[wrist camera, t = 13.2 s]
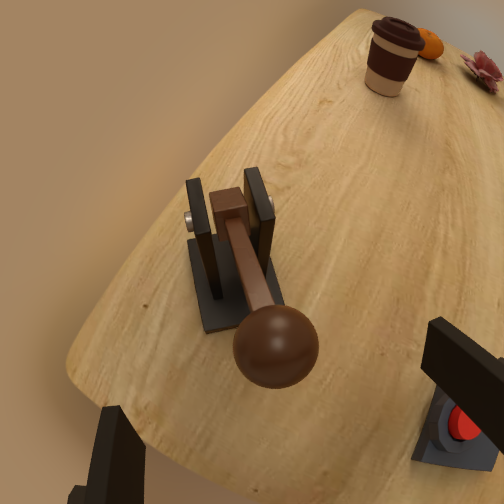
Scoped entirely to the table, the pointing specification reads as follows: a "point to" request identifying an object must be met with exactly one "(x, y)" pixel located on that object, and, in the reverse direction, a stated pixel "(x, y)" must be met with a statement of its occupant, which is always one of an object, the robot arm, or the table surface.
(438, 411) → the button block
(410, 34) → the coffee cup
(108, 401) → the table surface
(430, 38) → the fruit
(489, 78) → the flower
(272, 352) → the lever
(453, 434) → the button
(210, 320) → the bracket
